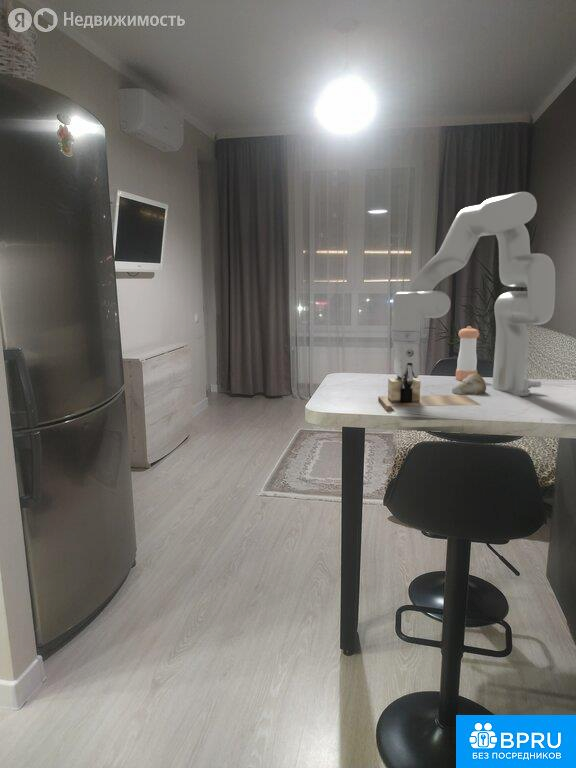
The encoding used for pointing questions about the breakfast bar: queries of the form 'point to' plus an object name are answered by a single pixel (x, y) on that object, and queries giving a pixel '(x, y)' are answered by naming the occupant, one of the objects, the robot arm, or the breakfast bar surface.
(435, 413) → the breakfast bar surface
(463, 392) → the beige stone
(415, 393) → the block
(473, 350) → the pepper shaker
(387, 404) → the plank
